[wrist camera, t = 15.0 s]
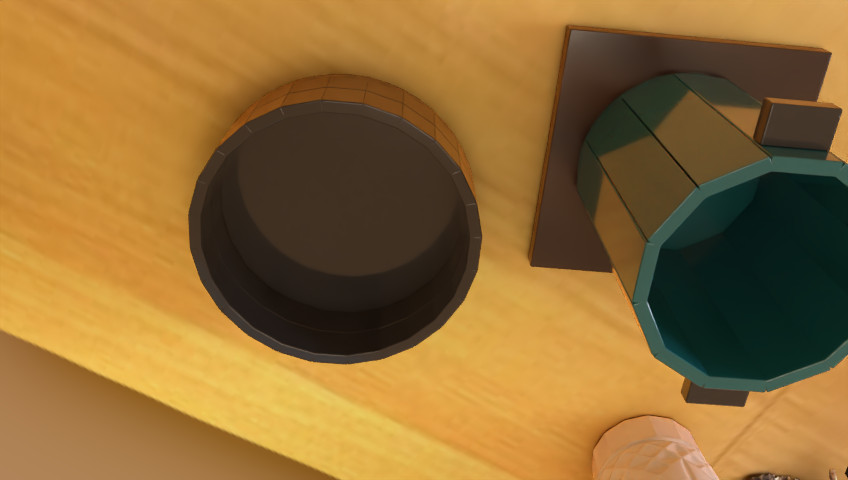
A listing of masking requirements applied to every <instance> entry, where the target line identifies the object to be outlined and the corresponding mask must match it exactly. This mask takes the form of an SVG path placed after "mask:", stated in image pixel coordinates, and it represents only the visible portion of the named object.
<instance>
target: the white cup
mask: <svg viewBox="0 0 848 480" xmlns="http://www.w3.org/2000/svg"><path fill="white" fill-rule="evenodd" d="M592 472H593V477H594V480H719V478H718V477H717V475H716V473H715V472H714V470H713V469H712V467H711V465H710V464H709V463H708V462H707V461H706V460H705V458H704V456H703V455H702V453H701V452H700V450H699V448H698V446H697V444H696V442H695V440H694V439H693V437H692V435H691V433H690V431H689V430H687V429H686V428H684V427H683V426H681V425H680V424H678V423H677V422H675V421H674V420H672V419H669V418H663V417H656V416H650V415H647V416H642V417H638V418H633V419H628V420H624V421H623V422H621V423H619V424H618V425H616V426H615V427H613V428H612V429H610V430H608V431H607V432H605V433H604V435H603V436H602V438H601V439H600V441H599V442H598V444H597V445H596V447H595V448H594V450H593V459H592Z"/></svg>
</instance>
